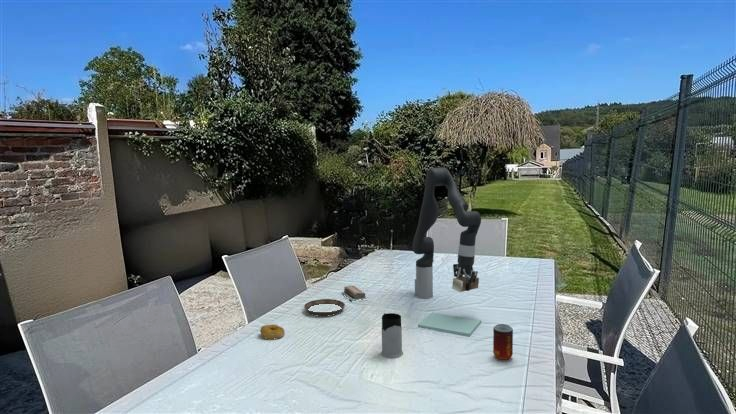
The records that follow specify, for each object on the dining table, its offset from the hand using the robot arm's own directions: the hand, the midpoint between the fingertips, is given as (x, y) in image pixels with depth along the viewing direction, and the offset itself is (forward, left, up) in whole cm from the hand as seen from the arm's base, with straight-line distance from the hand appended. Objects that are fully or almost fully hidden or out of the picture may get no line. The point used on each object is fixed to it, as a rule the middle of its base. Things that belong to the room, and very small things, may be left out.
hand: (463, 288), depth 205 cm
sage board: (-3, -9, -15) cm, 18 cm away
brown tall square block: (+4, +6, +2) cm, 8 cm away
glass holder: (-15, -46, -15) cm, 51 cm away
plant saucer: (-66, -19, -15) cm, 71 cm away
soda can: (+26, -32, -15) cm, 44 cm away
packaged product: (-65, +7, -16) cm, 67 cm away
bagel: (-68, -56, -15) cm, 90 cm away
